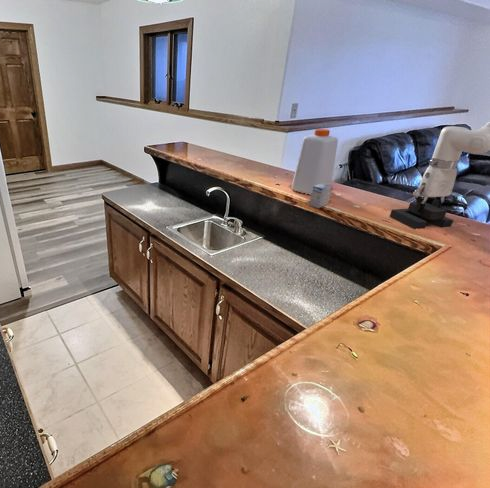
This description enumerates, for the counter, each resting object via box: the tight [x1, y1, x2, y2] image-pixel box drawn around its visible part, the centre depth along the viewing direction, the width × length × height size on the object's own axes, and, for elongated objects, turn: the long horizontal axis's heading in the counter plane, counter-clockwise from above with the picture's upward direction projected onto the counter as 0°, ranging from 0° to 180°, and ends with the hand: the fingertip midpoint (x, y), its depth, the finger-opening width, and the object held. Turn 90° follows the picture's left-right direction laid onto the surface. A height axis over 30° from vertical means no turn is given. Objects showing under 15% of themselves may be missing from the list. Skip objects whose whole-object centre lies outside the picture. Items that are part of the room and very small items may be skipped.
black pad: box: [407, 201, 447, 220], centre depth 129 cm, size 6×10×3 cm, turn 9°
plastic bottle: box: [291, 128, 339, 196], centre depth 160 cm, size 15×15×28 cm
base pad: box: [389, 208, 454, 230], centre depth 132 cm, size 15×13×3 cm
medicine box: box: [309, 183, 333, 209], centre depth 146 cm, size 8×4×9 cm, turn 130°
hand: (425, 211), depth 129 cm, fingers closed on black pad, 6 cm apart
